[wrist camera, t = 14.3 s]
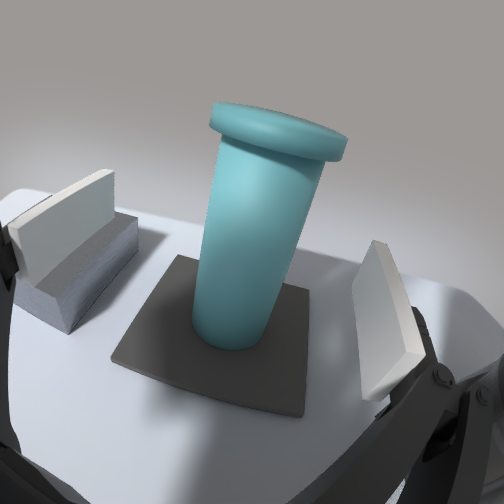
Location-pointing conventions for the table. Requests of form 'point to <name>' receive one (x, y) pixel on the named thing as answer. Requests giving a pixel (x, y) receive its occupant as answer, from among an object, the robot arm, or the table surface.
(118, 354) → the mat
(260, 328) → the teal capped cylinder
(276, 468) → the table surface
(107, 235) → the housing
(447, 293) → the table surface
